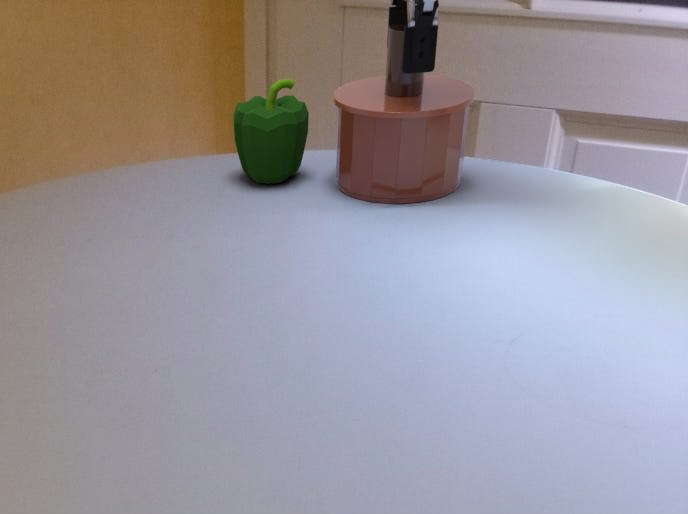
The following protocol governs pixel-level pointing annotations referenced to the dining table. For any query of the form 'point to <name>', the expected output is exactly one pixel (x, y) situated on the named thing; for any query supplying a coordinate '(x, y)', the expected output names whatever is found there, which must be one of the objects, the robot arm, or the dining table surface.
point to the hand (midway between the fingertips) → (409, 60)
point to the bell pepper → (271, 134)
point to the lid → (403, 89)
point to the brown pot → (400, 156)
